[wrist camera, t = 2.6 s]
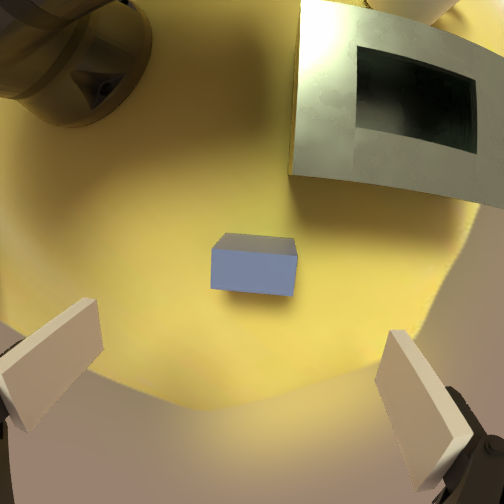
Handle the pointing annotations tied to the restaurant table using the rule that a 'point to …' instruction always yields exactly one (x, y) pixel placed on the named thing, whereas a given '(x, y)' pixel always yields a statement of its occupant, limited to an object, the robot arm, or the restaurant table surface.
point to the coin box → (396, 105)
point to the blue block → (254, 264)
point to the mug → (414, 8)
